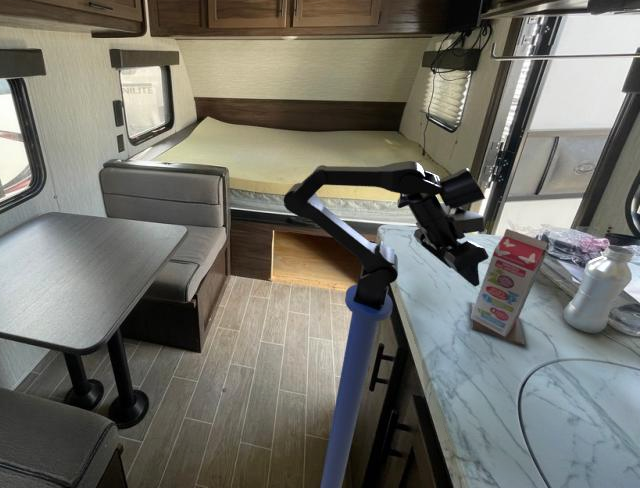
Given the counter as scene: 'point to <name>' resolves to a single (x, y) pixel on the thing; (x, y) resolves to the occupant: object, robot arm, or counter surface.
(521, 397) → the counter surface
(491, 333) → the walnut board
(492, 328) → the juice carton
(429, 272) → the counter surface
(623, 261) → the plastic bottle
